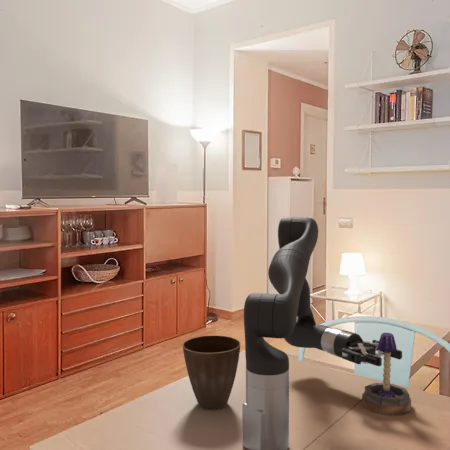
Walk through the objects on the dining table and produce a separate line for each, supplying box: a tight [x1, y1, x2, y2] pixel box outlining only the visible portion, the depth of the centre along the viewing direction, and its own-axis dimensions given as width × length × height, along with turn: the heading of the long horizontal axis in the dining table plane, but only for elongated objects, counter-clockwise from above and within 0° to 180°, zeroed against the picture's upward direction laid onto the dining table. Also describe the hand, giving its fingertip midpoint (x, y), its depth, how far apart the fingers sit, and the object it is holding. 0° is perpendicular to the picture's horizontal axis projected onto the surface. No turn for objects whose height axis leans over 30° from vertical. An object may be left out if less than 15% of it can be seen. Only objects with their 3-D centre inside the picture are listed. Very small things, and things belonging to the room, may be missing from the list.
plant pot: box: [182, 335, 241, 411], centre depth 132 cm, size 15×15×16 cm
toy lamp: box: [378, 332, 398, 397], centre depth 130 cm, size 5×5×17 cm
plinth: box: [361, 382, 412, 416], centre depth 131 cm, size 12×12×4 cm
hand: (391, 358), depth 129 cm, fingers open, 8 cm apart
